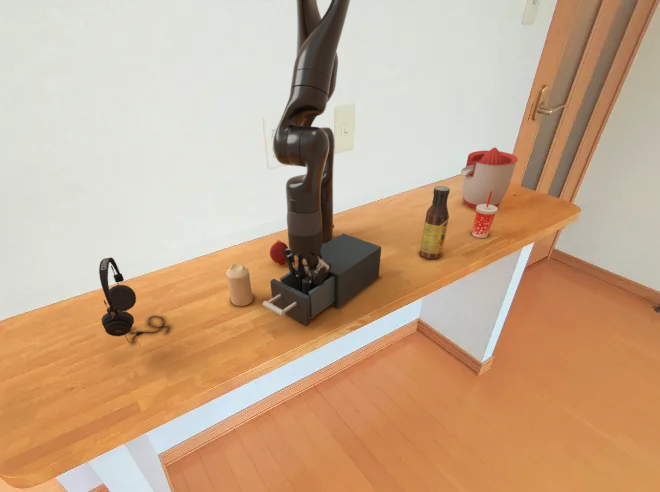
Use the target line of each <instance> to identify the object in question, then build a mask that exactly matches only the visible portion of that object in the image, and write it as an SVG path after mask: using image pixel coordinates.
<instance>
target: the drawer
mask: <svg viewBox="0 0 660 492" xmlns="http://www.w3.org/2000/svg"><path fill="white" fill-rule="evenodd" d="M318 272H319V271H318ZM305 276H307V275H306V274H305ZM312 277H314V276H312ZM269 284H270V290H271V291H270V292H271V298H270V299H268V300H263V302H262V307H264V308H266V309H268V311H269V310H270V311H271V312H273V313H274V314H276V315H278V316H280V317H285V315H287V316H289V317H291V318H292V319H294V320H296V321H298V322H300V323H301V324H303V325H305V326H310V324H311V319H313V318H315V317H316V316H317V315H319V314H321V312H323V311H324V310H326V309H327V308H328V307H330V306H331V305H332V303H334V302H335V301H336V277H335V276H333V275H331V274H327V276H326V278H325V280H324V281H323V282H321V283H319V284H318V286H317V287H315V288H314V289H312V290H311V291H309V296H307V295H305V294H303V293H301V292H299V288H298V280H297V278H296V275H295V274H292V273H291V272H290V271H289V272H287V273H285V274H284V275H282V276H281V277H280V278H279V280H278V279H276V278H272V279H270V280H269Z"/></svg>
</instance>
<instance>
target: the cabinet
mask: <svg viewBox="0 0 660 492" xmlns="http://www.w3.org/2000/svg"><path fill="white" fill-rule="evenodd" d="M320 252H321V255H322V260H323V261H324V262H325V263H326V264H327V263H330V264H331V266H332V267H331V269H330V271H329V273H328V274H331V275H333V276H335V277H336V301H335V302H334V303H332V304H331V305H332V306H334V307H335V308H341V307H342V306H343V305H344V304H346V303H347V302H348V301H350V300H351V299H353V298H354V297H355V296H356V295H358V294H359V293H361V292H362V291H363V290H364V289H365V288H367V287H369V285H370V286H371V284H373V283H374V282H375V281H377V280H378V279H379V277H380V266H381V255H382V246H381V245H377V244H375V243H372V242H369V241H367V240H363V239H361V238H358V237H355V236H352V235H350V234H347V233H344V232H342V233H340V234H339V235H338V236H336V237H333V239H332V240H330V241H329V242H327V243H325V244H324V245H322V247H321V251H320Z"/></svg>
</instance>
